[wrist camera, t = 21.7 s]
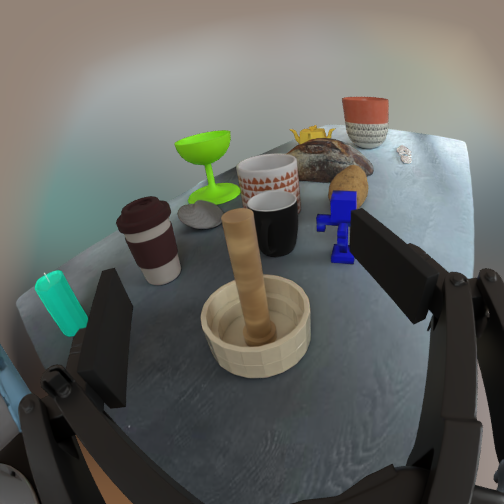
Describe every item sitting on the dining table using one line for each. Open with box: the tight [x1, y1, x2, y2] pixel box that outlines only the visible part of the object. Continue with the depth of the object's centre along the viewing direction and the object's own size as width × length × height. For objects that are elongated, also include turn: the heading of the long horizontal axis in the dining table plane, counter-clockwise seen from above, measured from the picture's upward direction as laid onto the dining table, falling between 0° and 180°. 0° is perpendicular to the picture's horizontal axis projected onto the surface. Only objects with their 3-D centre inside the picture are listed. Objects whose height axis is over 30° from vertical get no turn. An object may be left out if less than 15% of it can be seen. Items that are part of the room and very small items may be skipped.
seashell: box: [177, 200, 223, 229], centre depth 71 cm, size 12×6×10 cm
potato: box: [328, 165, 368, 209], centre depth 65 cm, size 9×16×9 cm, turn 145°
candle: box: [35, 270, 88, 337], centre depth 43 cm, size 6×6×12 cm
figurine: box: [316, 190, 357, 264], centre depth 49 cm, size 8×8×12 cm
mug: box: [247, 191, 298, 257], centre depth 54 cm, size 12×9×10 cm
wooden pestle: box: [221, 208, 277, 347], centre depth 34 cm, size 4×4×18 cm
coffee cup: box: [116, 196, 181, 285], centre depth 52 cm, size 10×10×15 cm
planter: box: [342, 97, 389, 149], centre depth 108 cm, size 20×20×21 cm
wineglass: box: [175, 130, 241, 205], centre depth 82 cm, size 16×16×18 cm
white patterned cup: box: [236, 154, 301, 214], centre depth 68 cm, size 14×14×13 cm
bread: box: [287, 138, 374, 182], centre depth 92 cm, size 27×32×10 cm
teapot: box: [290, 125, 336, 144], centre depth 116 cm, size 15×14×10 cm
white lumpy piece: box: [397, 145, 412, 164], centre depth 101 cm, size 6×28×1 cm, turn 157°
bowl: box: [201, 275, 311, 378], centre depth 38 cm, size 13×13×6 cm
